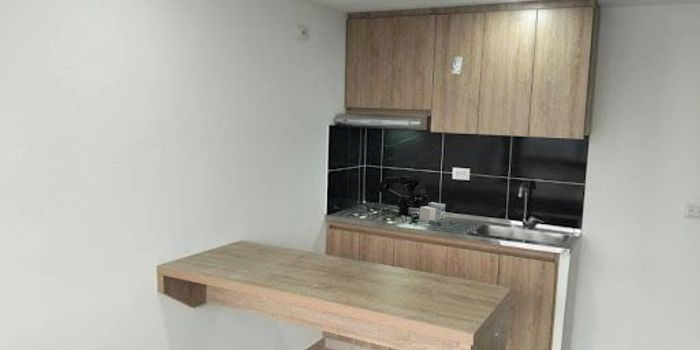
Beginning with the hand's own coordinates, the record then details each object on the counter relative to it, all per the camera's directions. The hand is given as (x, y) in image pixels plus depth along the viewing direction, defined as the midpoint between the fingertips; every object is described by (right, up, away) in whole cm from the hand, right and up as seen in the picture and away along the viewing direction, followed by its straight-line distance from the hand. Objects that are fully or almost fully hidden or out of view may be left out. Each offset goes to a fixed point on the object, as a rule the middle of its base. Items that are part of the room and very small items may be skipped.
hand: (422, 209), depth 375 cm
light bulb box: (+11, -7, +14) cm, 19 cm away
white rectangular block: (+3, -7, -3) cm, 8 cm away
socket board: (+6, -9, -7) cm, 13 cm away
